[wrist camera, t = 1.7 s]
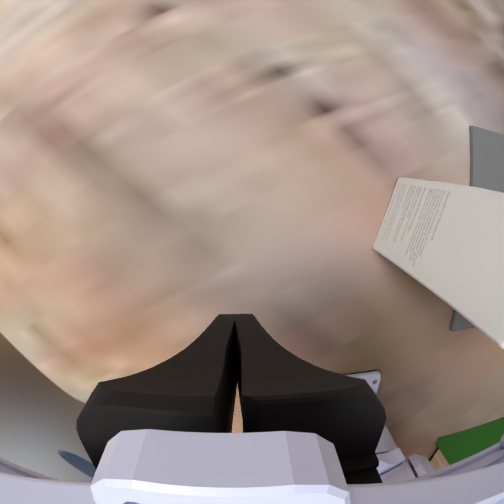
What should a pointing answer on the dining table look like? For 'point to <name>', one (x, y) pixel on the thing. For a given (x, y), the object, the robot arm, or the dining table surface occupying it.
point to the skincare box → (450, 246)
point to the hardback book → (467, 443)
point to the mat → (483, 179)
